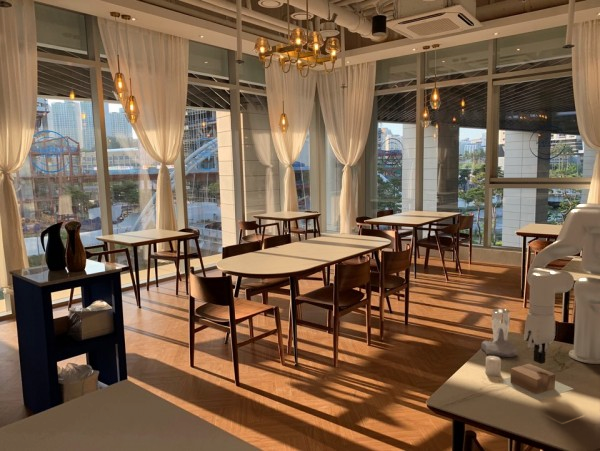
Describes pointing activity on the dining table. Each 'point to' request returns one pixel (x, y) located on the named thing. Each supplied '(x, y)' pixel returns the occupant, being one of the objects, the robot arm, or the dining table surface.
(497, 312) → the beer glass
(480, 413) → the dining table surface
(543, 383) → the block
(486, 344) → the stone block
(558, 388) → the mat
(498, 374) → the white rounded cylinder
